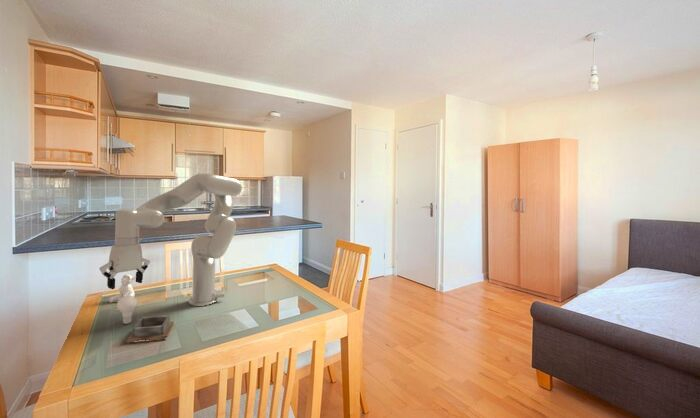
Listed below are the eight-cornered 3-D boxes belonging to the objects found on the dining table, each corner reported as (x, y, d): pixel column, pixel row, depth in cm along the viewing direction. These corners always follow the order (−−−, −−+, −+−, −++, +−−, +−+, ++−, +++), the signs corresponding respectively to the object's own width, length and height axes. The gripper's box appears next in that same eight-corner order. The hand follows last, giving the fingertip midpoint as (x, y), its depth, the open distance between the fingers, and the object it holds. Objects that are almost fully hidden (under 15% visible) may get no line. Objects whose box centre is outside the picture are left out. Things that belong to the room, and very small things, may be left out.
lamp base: (173, 325, 122) (173, 314, 122) (166, 339, 111) (166, 327, 111) (138, 327, 118) (138, 316, 118) (126, 343, 107) (126, 330, 107)
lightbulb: (126, 328, 118) (126, 299, 117) (112, 325, 119) (112, 297, 118) (141, 321, 124) (141, 294, 123) (127, 319, 125) (127, 292, 125)
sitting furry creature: (107, 302, 140) (107, 276, 139) (122, 296, 149) (122, 271, 148) (127, 304, 140) (127, 278, 139) (141, 297, 148) (141, 272, 147)
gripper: (144, 237, 129) (143, 278, 129) (95, 242, 113) (93, 288, 114) (155, 240, 125) (154, 282, 126) (106, 245, 110) (105, 293, 111)
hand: (125, 285), depth 120 cm, fingers open, 9 cm apart
